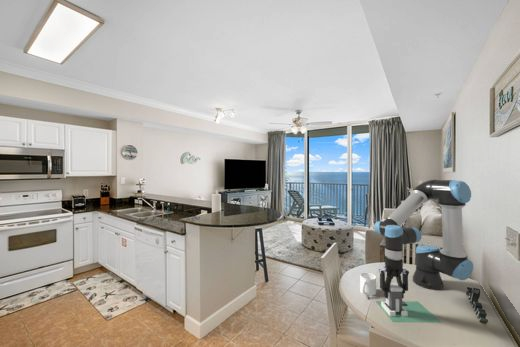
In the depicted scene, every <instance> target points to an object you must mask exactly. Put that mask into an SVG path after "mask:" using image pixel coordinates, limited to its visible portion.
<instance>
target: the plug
mask: <svg viewBox="0 0 520 347" xmlns="http://www.w3.org/2000/svg"><path fill="white" fill-rule="evenodd" d="M389 292H390V306H388V305H387V303H386V305H387V306H388V307H389V309H390V310H391V311H396V312H399V311H402V301H403V298H402V288H401V287H400V286H399V285H398V283H397V282H391V284H390V288H389Z"/></svg>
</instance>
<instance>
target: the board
mask: <svg viewBox="0 0 520 347" xmlns="http://www.w3.org/2000/svg"><path fill="white" fill-rule="evenodd" d="M382 301H383V302H386V298H383V300H382ZM375 302H376V304H377V305H378V306H379V307H380V308H381V310H382V311H383V312H384V313H385V315H386V316H387V317H388V318H389V319H390V321H391V322H392V323H442V321H441V320H440V319H439V318H437V317H436V316H435V315H434V314H433V313H432V312H431V311H430V310H428V309H427V308H426V307H425V306H424V305H423V304H421V302H419V301H416V300H415V301H412V300H411V301H410V300H409V301H403V300H402V307H403V308H404V309H405V310H406V311H407V312H408V316H401V311H399V312H396V311H395V312H396V316H389V314H388V313H387V312H386V311H385V310H384V309H383V307H382V306H381V300H380V301H379V300H376V301H375ZM388 308H389V307H388Z"/></svg>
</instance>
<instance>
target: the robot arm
mask: <svg viewBox="0 0 520 347" xmlns="http://www.w3.org/2000/svg"><path fill="white" fill-rule="evenodd" d="M471 198H472V191H471V188H470V186H469V185H468V183H467V182H465V181H462V180H456V179H452V180H451V179H429V180H427V181H424V182H422V183H420V184H418V185H416V186H415V187H414V188H412V190H411V191H410V193H409V195H408V197H406V199H405V200H403V202H401V203H400V204H399V205H398V206H397V208H396V209H394V210H393V211H392V212H391V213H390V214H389V215H388V216H387V217H386V218H385V219H384V221H383V220H378V221H376V222H375V223H374V226H373V229H374V232H375V233H376V234H379V235H380V236H382V237H384V255H385V257H384V265H385V266H384V268H382V269H381V268H379V269H378V271H379V288H380V289H381V291H382V292H383V297H384V299H386V303H387V305H388V306H390V292H389V288H390V284H391V283H392V280H393V279H394V278H395V279H396V283H397V284H398V285H399V286H400V287H401V288H402V299H404V298H405V293H406V292H408V291H409V275H410V274H409V273H410V271H409V270H408V269H406V268H403V267H404V260H403V258H404V252H403V251H404V249H403V248H404V245H408V244H409V245H410V244H415V243H417V242H420V241H421V240H422V237H423V236H422V233H421V231H420V230H419V229H418V228H417V227H414V226H413V227H411V226H409V227H406V226H403V224H404V223H405V222H406V221H407V219H408V218H410V217H411V216H412V214H414V212H416V211H417V209H419V208H420V206H421V205H423V204H425V203H427V202H428V201H429V200H430V201H431V200H434V201H435V200H437V205H439V207H441V229H442V232H441V234H442V235H441V236H442V248H441V249H440V247H439V246H435V245H429V244H428V245H427V244H426V245H425V244H424V245H423V244H422V245H417V246H416V247H415V271H414V273H413V275H412V282H413V283H414V284H416V285H418V286H419V287H422V288H425V289H428V290H435V291H438V290H442V289H444V281H443V279H442V276H441V273H442V274H444V275H446V276H449V277H452V278H454V279H457V280H460V281H465V280H468V279H469V278H470V277H471V275H472V273H473V271H474V263H473V261H472V260H470V259H468V254H467V253H466V252H465V251H464V233H463V231H464V230H463V229H464V228H463V208H464V207H465V206H467V203H469V202H470V201H471ZM401 274H402V275H401Z"/></svg>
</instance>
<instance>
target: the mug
mask: <svg viewBox="0 0 520 347" xmlns="http://www.w3.org/2000/svg"><path fill="white" fill-rule="evenodd" d="M359 291H360V294H361V295H362V296H364V297H366V298H368V297H369V296H370V297H372V296H376V295H377V276H376V275H375V274H372V273H369V272H361V273H360V275H359Z"/></svg>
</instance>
